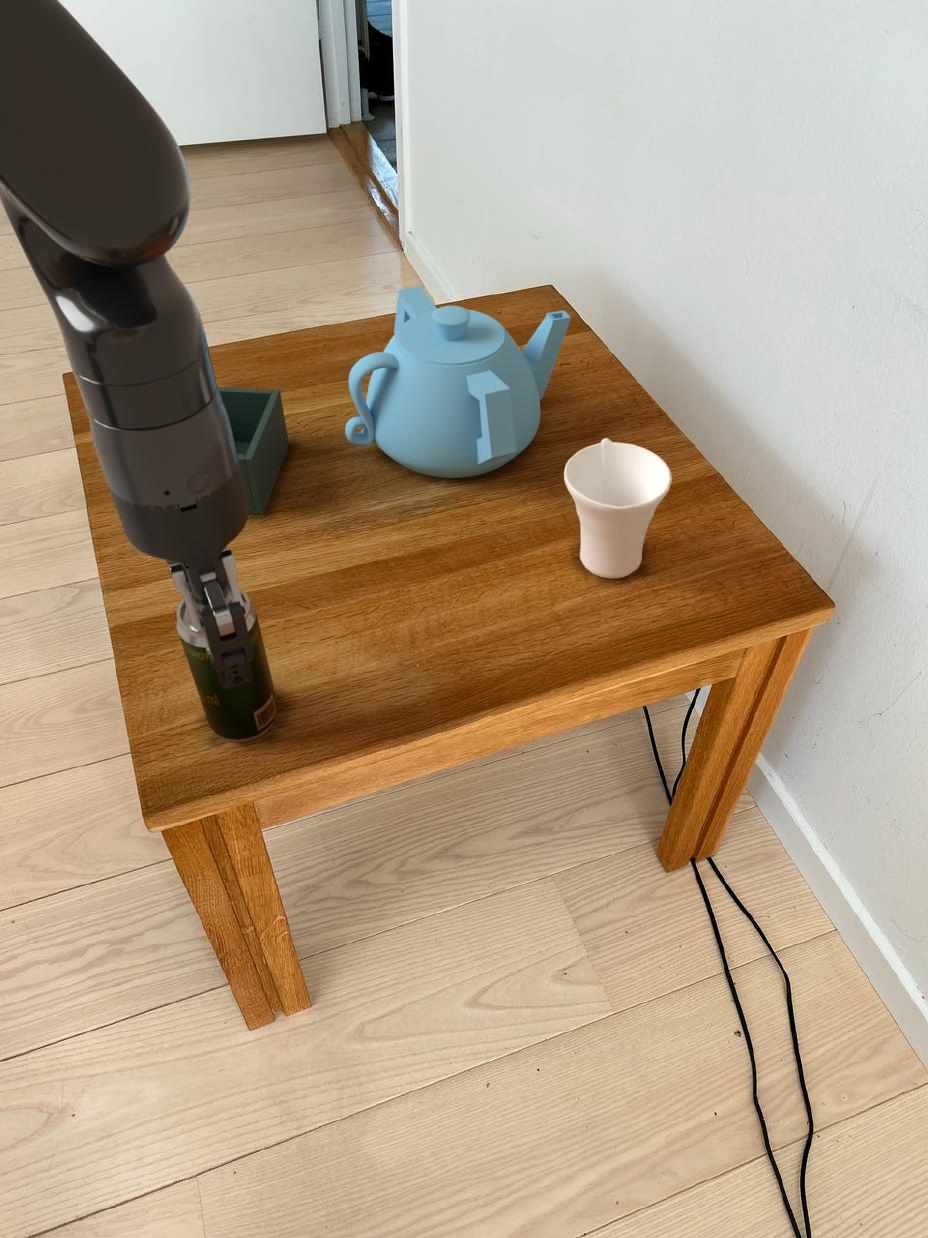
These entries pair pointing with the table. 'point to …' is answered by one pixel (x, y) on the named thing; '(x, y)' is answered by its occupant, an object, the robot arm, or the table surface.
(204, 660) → the beer can
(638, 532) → the cup
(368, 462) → the table surface
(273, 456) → the open box
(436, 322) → the teapot
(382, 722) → the table surface
